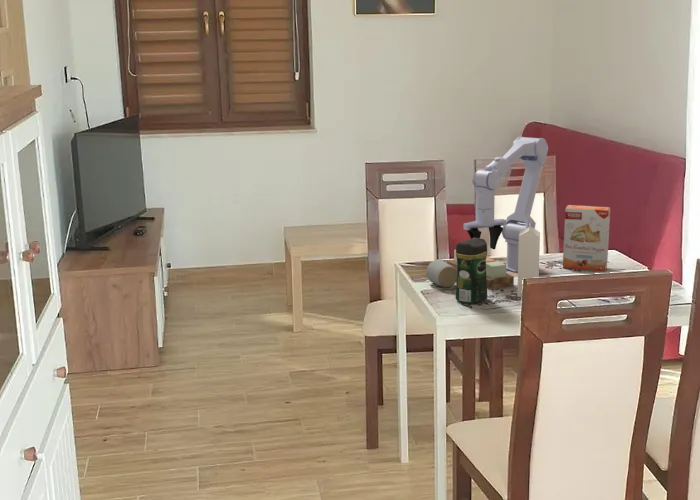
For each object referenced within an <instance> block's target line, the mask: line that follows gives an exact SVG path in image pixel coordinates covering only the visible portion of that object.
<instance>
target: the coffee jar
mask: <svg viewBox="0 0 700 500" xmlns="http://www.w3.org/2000/svg"><path fill="white" fill-rule="evenodd" d="M455 250H456V257H457V280H456V282H455V300H456V301H458V302H459V303H462V304H478V303H480V302H483V301H485V300H486V299H487V298H488V288H487V279H486V257H488V243H487V241H486V239H484V238H481V237H480V238H472V239H471V238H470V239H466V240H462V241H460V242H457V243H456V244H455Z"/></svg>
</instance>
